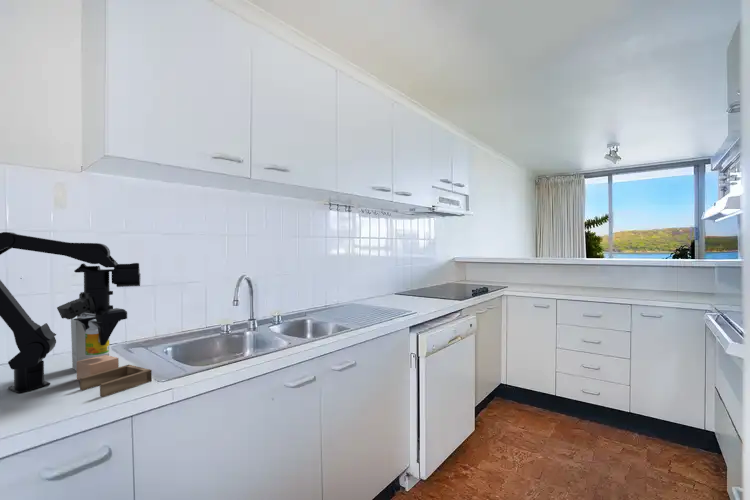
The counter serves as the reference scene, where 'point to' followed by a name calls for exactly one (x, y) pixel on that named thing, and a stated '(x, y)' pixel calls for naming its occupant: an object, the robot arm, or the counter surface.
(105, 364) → the terracotta pedestal
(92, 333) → the supplement bottle
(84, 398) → the counter surface
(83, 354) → the skincare box
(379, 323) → the counter surface
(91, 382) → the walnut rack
